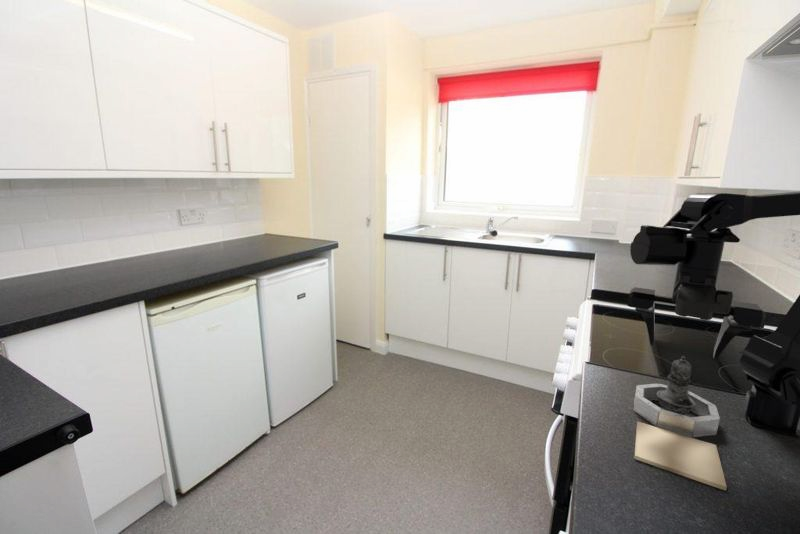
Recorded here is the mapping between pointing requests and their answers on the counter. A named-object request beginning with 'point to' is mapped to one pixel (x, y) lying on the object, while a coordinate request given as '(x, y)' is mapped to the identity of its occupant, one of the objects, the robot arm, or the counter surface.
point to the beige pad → (679, 454)
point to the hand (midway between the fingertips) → (682, 351)
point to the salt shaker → (677, 389)
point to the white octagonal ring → (674, 421)
